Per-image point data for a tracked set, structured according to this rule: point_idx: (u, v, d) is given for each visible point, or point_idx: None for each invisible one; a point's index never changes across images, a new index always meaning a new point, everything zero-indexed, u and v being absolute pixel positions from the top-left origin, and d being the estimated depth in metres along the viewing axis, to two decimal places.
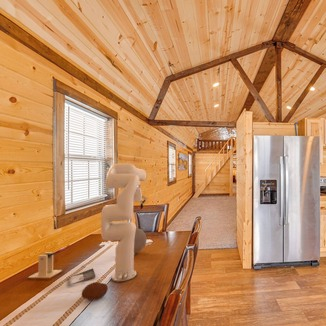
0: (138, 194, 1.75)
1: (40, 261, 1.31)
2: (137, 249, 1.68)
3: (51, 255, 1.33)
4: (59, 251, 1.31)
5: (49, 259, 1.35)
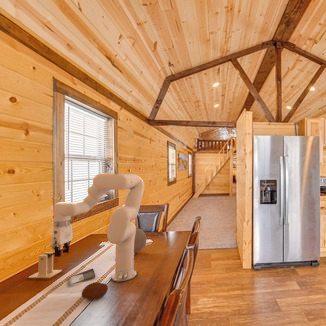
0: (70, 231, 1.37)
1: (40, 261, 1.31)
2: (137, 249, 1.68)
3: (51, 255, 1.33)
4: None
5: (49, 259, 1.35)
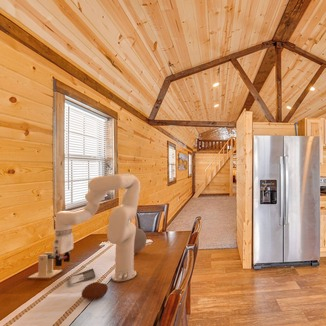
0: (71, 240, 1.37)
1: (40, 261, 1.31)
2: (137, 249, 1.68)
3: (51, 258, 1.33)
4: None
5: (49, 259, 1.35)
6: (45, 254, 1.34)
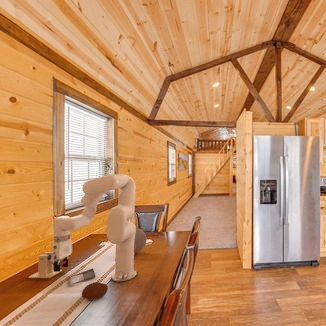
0: (70, 245, 1.37)
1: (40, 261, 1.31)
2: (137, 249, 1.68)
3: None
4: None
5: None
6: (46, 254, 1.34)
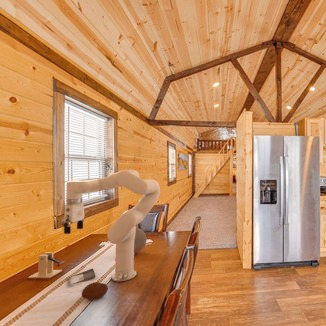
0: (82, 210, 1.37)
1: (40, 261, 1.31)
2: (137, 249, 1.68)
3: None
4: None
5: None
6: (46, 254, 1.34)
